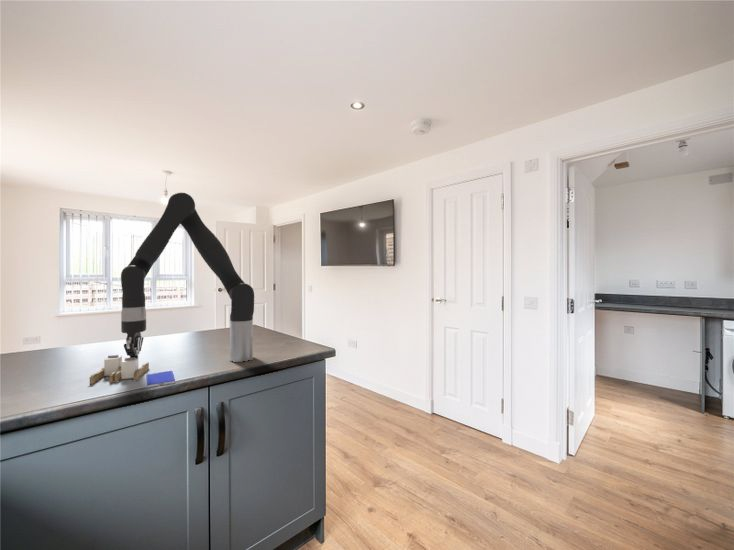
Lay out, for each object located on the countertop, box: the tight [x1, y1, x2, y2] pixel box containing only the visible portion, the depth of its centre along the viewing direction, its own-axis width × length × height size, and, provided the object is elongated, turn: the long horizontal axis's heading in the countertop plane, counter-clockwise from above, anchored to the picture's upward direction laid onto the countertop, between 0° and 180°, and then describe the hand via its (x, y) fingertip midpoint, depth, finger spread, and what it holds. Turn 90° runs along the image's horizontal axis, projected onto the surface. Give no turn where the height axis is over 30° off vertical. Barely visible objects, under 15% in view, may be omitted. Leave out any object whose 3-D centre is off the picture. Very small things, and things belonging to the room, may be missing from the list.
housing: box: [89, 366, 121, 385], centre depth 117 cm, size 6×14×3 cm, turn 19°
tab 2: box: [121, 357, 139, 380], centre depth 116 cm, size 4×4×7 cm
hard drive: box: [145, 370, 176, 388], centre depth 114 cm, size 2×8×12 cm
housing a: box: [114, 362, 150, 383], centre depth 119 cm, size 6×14×3 cm, turn 19°
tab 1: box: [103, 354, 123, 377], centre depth 120 cm, size 4×4×7 cm
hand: (134, 365), depth 121 cm, fingers closed
